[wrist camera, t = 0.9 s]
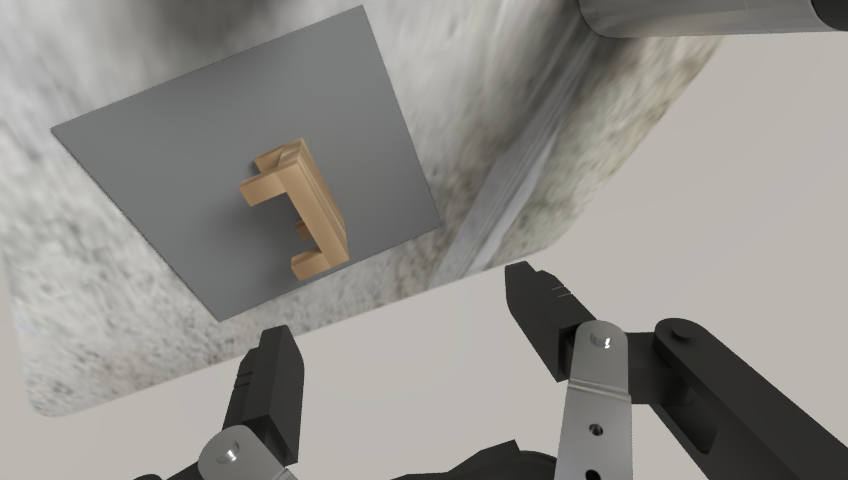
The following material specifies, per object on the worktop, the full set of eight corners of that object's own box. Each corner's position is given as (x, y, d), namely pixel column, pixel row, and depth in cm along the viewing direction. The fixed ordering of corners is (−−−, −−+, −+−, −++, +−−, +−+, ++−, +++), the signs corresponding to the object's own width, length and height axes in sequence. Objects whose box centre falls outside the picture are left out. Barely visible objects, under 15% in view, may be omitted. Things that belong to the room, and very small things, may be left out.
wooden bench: (301, 137, 31) (297, 163, 24) (343, 217, 35) (349, 259, 28) (256, 155, 30) (238, 187, 24) (303, 234, 34) (299, 281, 28)
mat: (362, 5, 28) (362, 4, 27) (440, 223, 38) (441, 225, 38) (53, 127, 27) (49, 128, 26) (220, 319, 37) (219, 321, 36)
